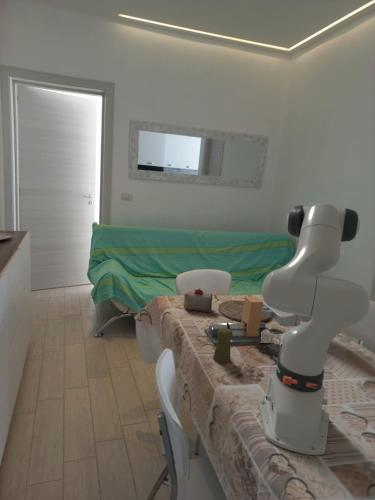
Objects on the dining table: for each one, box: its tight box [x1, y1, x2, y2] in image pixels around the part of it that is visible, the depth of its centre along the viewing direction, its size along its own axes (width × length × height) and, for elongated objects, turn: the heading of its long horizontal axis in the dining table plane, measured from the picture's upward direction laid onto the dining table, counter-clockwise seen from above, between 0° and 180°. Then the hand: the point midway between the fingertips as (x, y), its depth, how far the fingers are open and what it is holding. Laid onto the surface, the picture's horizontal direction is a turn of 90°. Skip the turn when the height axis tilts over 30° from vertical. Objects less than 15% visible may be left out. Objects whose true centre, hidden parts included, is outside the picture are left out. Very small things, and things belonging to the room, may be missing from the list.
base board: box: [203, 328, 261, 346], centre depth 137 cm, size 24×12×1 cm, turn 105°
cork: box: [212, 328, 233, 365], centre depth 118 cm, size 6×6×11 cm
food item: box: [183, 288, 213, 313], centre depth 162 cm, size 14×8×10 cm, turn 85°
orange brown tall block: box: [240, 296, 263, 337], centre depth 137 cm, size 5×6×14 cm
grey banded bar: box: [208, 322, 268, 338], centre depth 136 cm, size 23×4×5 cm, turn 105°
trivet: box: [217, 299, 272, 323], centre depth 164 cm, size 25×25×2 cm
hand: (258, 311), depth 137 cm, fingers closed, pressing on orange brown tall block
